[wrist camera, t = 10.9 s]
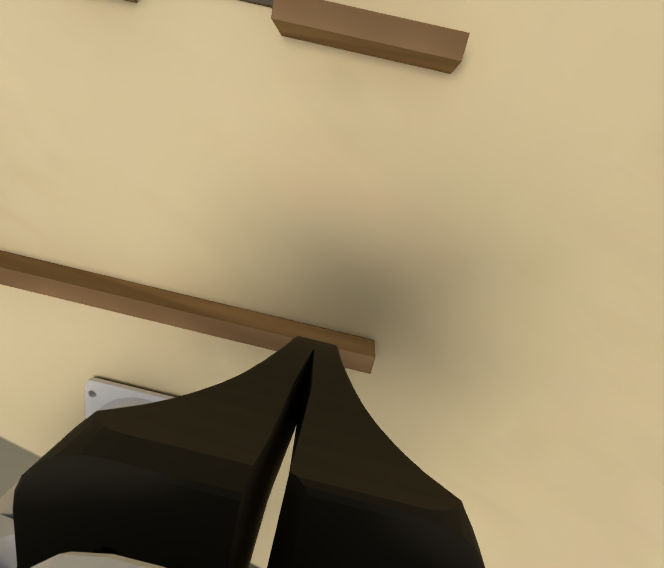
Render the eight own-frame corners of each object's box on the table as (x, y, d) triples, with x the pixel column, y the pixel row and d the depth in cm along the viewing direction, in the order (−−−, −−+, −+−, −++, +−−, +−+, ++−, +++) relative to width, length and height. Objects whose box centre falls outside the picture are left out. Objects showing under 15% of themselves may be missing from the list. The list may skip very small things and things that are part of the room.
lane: (369, 355, 21) (370, 373, 19) (-224, 212, 22) (-280, 216, 20) (497, -90, 15) (516, -128, 13) (-353, -274, 15) (-453, -336, 14)
